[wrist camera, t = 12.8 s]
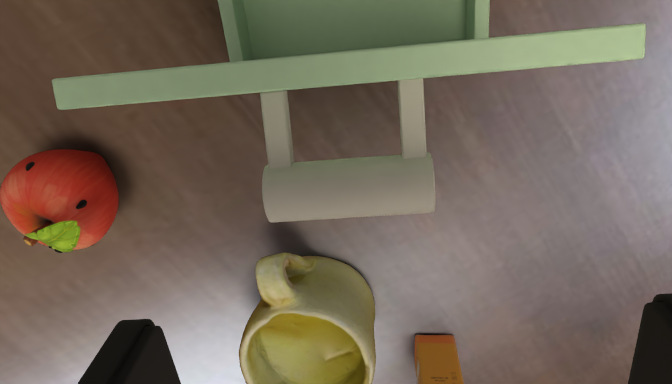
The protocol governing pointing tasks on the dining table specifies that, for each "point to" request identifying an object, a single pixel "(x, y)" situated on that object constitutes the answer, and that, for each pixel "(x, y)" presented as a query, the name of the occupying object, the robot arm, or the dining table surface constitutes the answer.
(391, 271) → the dining table surface
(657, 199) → the dining table surface
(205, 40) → the dining table surface
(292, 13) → the green tray box
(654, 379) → the robot arm
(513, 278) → the dining table surface
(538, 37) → the lid
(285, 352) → the mug
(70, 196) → the apple
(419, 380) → the supplement box
